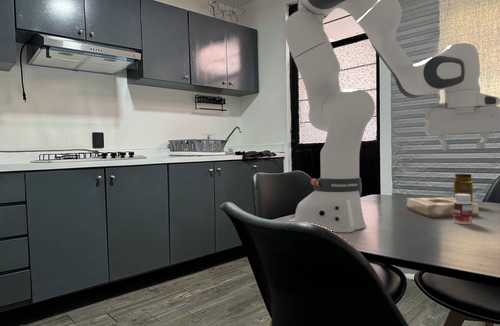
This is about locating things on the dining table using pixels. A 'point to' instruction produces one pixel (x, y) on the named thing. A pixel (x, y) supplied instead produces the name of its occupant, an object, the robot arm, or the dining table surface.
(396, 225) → the dining table surface
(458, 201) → the pill bottle
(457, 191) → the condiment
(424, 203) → the well block
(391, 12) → the robot arm
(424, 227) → the dining table surface
